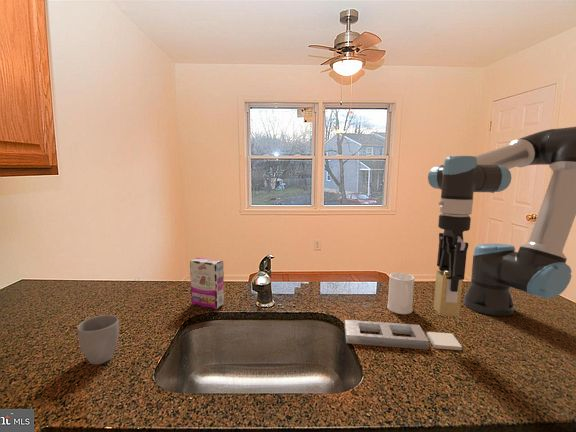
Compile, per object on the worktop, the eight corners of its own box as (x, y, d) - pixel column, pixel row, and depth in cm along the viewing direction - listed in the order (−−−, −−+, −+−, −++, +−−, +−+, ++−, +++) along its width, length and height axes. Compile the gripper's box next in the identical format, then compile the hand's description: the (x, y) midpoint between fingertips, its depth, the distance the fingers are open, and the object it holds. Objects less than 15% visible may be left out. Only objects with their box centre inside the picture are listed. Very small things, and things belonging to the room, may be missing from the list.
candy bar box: (225, 304, 111) (224, 260, 108) (216, 310, 106) (215, 264, 104) (199, 299, 115) (198, 256, 112) (190, 304, 110) (189, 260, 108)
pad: (451, 336, 90) (452, 333, 90) (461, 350, 83) (462, 346, 83) (426, 334, 91) (427, 331, 91) (434, 348, 84) (435, 344, 84)
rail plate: (418, 332, 92) (419, 324, 92) (428, 349, 83) (429, 341, 83) (344, 327, 95) (344, 319, 95) (346, 343, 86) (346, 334, 86)
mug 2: (417, 319, 100) (420, 284, 99) (390, 317, 102) (393, 283, 100) (409, 304, 112) (411, 273, 110) (385, 302, 113) (387, 271, 112)
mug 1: (112, 367, 75) (109, 330, 73) (73, 370, 73) (69, 332, 72) (130, 340, 86) (128, 308, 85) (96, 342, 85) (93, 310, 84)
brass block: (451, 308, 88) (455, 268, 86) (458, 316, 83) (463, 274, 81) (433, 307, 89) (436, 267, 87) (439, 315, 84) (443, 273, 82)
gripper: (429, 210, 91) (423, 285, 95) (453, 219, 74) (445, 310, 77) (455, 211, 90) (448, 286, 94) (487, 220, 73) (477, 313, 76)
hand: (447, 297), depth 85 cm, fingers closed on brass block, 5 cm apart
